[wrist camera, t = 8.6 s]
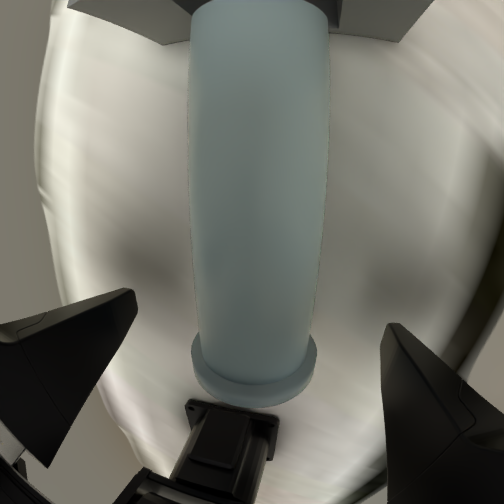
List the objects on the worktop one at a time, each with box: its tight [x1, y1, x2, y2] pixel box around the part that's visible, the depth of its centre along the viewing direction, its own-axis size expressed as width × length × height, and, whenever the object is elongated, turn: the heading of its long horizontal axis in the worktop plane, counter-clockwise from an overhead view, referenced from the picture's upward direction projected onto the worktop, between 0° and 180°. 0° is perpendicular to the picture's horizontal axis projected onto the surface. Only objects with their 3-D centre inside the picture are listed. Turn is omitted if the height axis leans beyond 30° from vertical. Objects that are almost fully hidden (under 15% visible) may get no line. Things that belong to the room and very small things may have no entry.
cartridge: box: [187, 0, 330, 408], centre depth 9 cm, size 12×5×5 cm, turn 179°
